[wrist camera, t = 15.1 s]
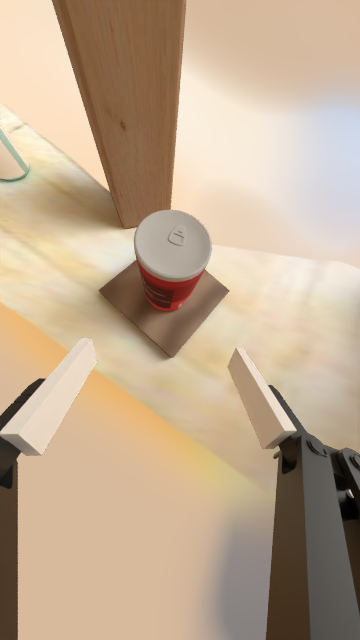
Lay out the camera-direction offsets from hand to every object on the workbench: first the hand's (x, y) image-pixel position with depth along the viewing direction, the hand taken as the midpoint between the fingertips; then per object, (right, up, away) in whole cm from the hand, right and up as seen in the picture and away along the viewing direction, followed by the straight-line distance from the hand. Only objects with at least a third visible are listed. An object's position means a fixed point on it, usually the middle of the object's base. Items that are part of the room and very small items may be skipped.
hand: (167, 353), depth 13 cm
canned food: (-1, +8, +11) cm, 14 cm away
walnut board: (-1, +8, +13) cm, 15 cm away
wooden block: (-7, +28, +17) cm, 33 cm away
